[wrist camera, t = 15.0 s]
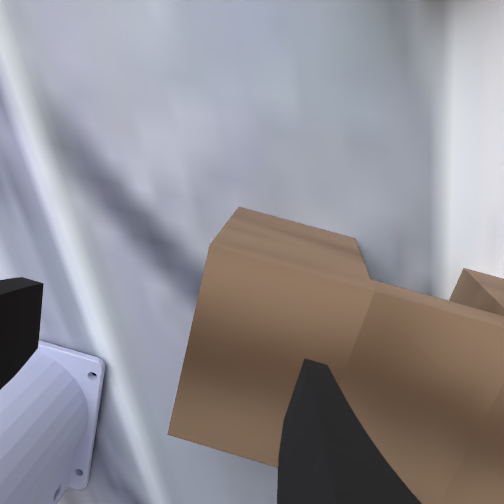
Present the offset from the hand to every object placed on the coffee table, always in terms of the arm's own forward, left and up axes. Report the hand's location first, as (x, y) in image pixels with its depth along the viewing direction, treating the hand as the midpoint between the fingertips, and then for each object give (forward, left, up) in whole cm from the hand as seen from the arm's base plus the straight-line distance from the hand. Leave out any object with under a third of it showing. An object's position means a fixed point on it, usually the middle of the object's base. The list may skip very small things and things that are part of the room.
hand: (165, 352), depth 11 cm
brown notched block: (-2, -8, -9) cm, 13 cm away
